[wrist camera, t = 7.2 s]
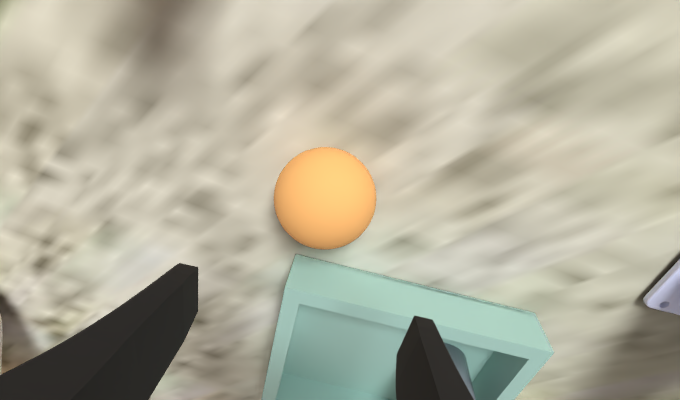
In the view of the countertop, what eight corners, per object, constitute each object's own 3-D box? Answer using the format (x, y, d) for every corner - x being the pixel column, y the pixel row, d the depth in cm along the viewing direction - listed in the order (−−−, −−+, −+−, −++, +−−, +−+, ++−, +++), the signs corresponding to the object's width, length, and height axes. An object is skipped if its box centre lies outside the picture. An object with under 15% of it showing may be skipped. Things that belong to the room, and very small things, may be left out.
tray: (534, 312, 23) (554, 352, 21) (456, 418, 30) (463, 458, 27) (295, 254, 23) (284, 287, 20) (269, 374, 29) (258, 410, 27)
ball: (388, 146, 19) (390, 192, 14) (363, 223, 21) (358, 281, 17) (294, 122, 18) (268, 161, 14) (280, 202, 21) (255, 256, 17)
